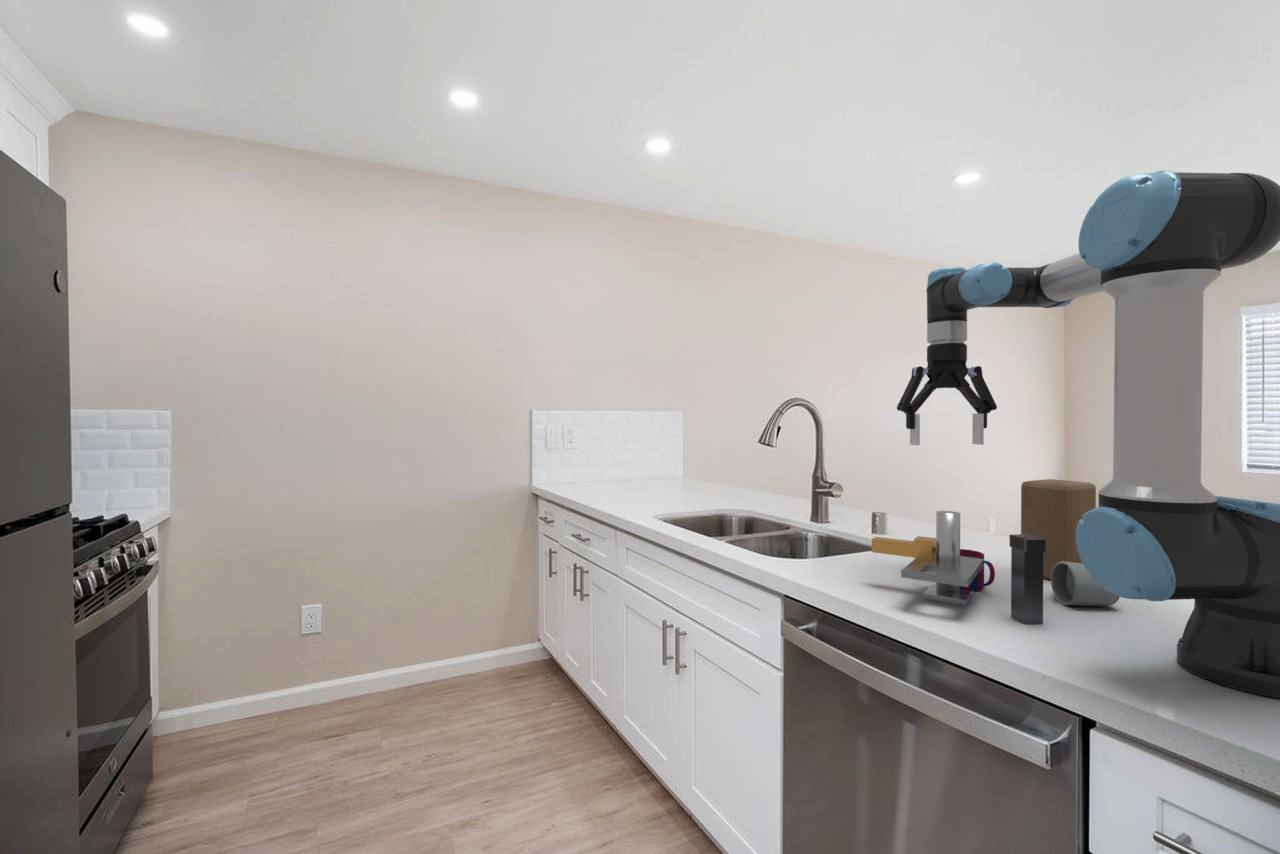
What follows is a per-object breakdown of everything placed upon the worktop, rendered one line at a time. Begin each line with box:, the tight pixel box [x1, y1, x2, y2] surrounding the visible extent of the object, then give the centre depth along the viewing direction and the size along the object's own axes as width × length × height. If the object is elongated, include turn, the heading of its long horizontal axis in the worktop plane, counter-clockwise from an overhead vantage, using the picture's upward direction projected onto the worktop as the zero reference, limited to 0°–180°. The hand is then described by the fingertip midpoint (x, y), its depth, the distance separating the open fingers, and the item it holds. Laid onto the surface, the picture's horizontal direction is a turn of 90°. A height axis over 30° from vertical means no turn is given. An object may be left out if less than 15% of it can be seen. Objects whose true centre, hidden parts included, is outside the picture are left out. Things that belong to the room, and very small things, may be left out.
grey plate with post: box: [871, 510, 985, 607], centre depth 112 cm, size 18×19×16 cm
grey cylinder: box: [1050, 561, 1121, 607], centre depth 109 cm, size 11×8×8 cm
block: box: [1020, 478, 1097, 580], centre depth 126 cm, size 10×10×20 cm
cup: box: [960, 548, 996, 592], centre depth 118 cm, size 7×10×7 cm
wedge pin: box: [1009, 533, 1046, 625], centre depth 99 cm, size 4×3×14 cm
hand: (946, 444), depth 126 cm, fingers open, 13 cm apart
